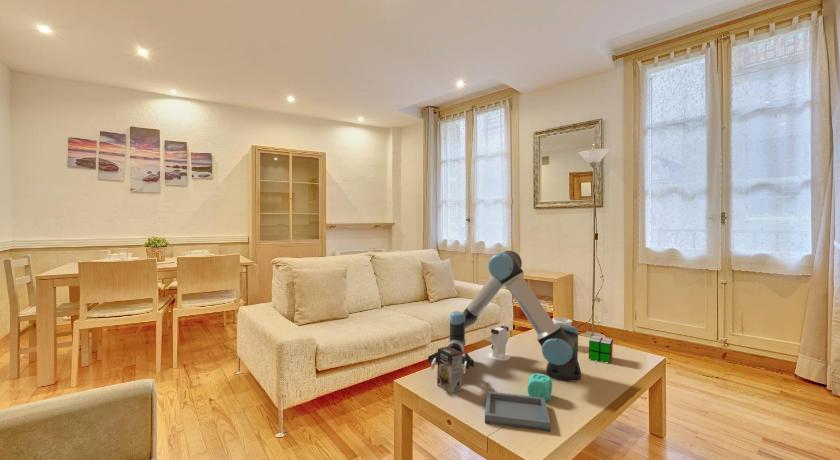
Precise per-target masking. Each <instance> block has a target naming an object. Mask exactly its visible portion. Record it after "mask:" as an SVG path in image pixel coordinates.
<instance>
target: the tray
mask: <svg viewBox="0 0 840 460" xmlns="http://www.w3.org/2000/svg"><path fill="white" fill-rule="evenodd" d="M485 396H486V399H485V400H486V401H485V410H484V424H489V425H495V426H496V425H497V426H504V427H505V426H506V427H511V428H520V429H529V430H536V431H543V432H551V420H550V416H549V411H548V408H547V407H548V406H547V403H546V402H547V401H545V398H542V397H533V396H529V395H525V394H523V395H522V394H514V393H513V394H512V393H505V392H498V391H497V392H495V391H486V395H485Z"/></svg>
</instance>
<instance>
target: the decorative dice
mask: <svg viewBox="0 0 840 460" xmlns="http://www.w3.org/2000/svg"><path fill="white" fill-rule="evenodd" d="M552 391H553V380H552V379H551V376H548V374H547V375H546V374H543V373H535V372H534V373H532V374H531V375H529V378H528V383H527V394H528V396H533V397H542V398H545V402H547V401H549V400H551V397H552Z"/></svg>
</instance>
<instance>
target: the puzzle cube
mask: <svg viewBox="0 0 840 460" xmlns="http://www.w3.org/2000/svg"><path fill="white" fill-rule="evenodd" d="M613 340H614V339H613V338H609V337H604V336H603V337H602V336H597V335H592V336H591V337H590V338H589V341H588V343H589V344H588V360H589V359H592V360H591V361H594V360H597V361H596V362H600V361H603V362H602V363H604V362H608V363H607V364H609V363H610V362H611V363H612V360H611V359H613V349H614V348H613V347H614V346H613V345H614V341H613ZM611 363H610V364H611Z"/></svg>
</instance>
